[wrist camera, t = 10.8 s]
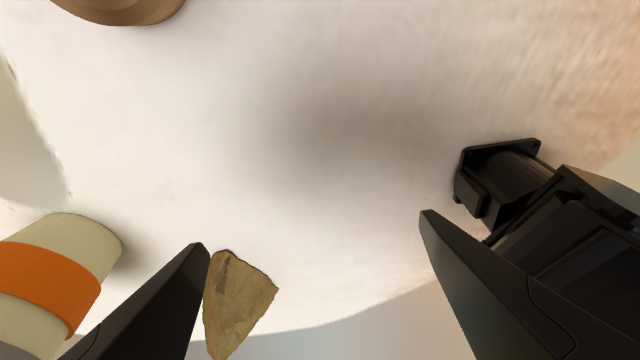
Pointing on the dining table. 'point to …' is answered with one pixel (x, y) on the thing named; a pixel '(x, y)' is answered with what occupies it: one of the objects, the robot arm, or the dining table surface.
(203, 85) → the dining table surface
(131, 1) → the pedestal
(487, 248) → the robot arm
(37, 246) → the reusable coffee cup
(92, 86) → the dining table surface
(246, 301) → the rock
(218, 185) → the dining table surface
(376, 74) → the dining table surface
